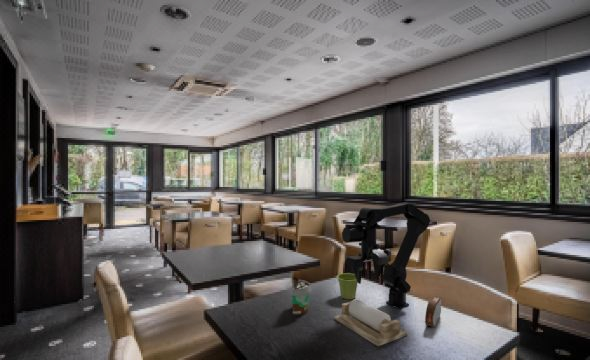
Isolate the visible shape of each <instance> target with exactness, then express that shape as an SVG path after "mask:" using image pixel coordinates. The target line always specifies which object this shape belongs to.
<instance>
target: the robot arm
mask: <svg viewBox="0 0 590 360" xmlns="http://www.w3.org/2000/svg"><path fill="white" fill-rule="evenodd" d="M400 215H403V217H404V218H405V219H406V220H407V221H406V229H407V230H406V233H405V234H404V237H403V240H402V242H401V244H400V246H399V248H398V252H396V256H395V258H394V259H393V260H394V261H393V262H392V263H390V262H391V261H392V250H390V249H389V248H387V249H380V244H379V243H377V230H380V229H381V230H382V226H380V225H379V222H382V221H383V220H384V219H386V218H391V217H394V216H400ZM430 224H431V219H430V216H429V215H428V213H425V212H424V211H422V210H421V209H419V208H417V207H416V206H415V205H414V204H412V202H401V203H397V204H392V205H387V206H382V207H361V208H360V210H359V212H358V214H357V216H356V218H355V220H354V221H353V223H351V224H350V223H345V225H344V226H345V227H344V228H343V229H342V231H341V236H342V237H341V238H342V241H343V242H344V243H346V244H348V243H349V244H350V243H358V246H360V253H358V256H356V255H351V256H349V255H348V256H346V258H345V261H344V262H345V265H347V267H350V269H351V271H352V274H354V275H355V277H356V279H357V282H358V283H357V284H359V285H361V283H362V274H363V273H362V271H363V270H364V268H365V267H364V266H363V265H364V263H368V262H372V265H373V272H374V277H375V280H378V281H379V279H380V277H381V273H382V279H383V281H384V283H385V286H386V287H388V288H389V289H388V292H389V293H388V301H385V303H386V304H388V305H390V306H392V307H393V308H396V309H401V308H405V307H407V306H410V304H409V303H408V302H407V293H408V292H410V290H411V287H412V286H411V285H410V284H409V283H408V282H407V266H408V263H409V261H410V258H411V256H412V254H413V252H414V249H415V246H416V244H417V242H418V239H419V237H420V235H422V234H423V233H424V232H425V231H426V230H427V229H428V227H429V226H430ZM384 266H385V267H384ZM383 268H384V270H383ZM382 270H383V271H382Z"/></svg>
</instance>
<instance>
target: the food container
mask: <svg viewBox="0 0 590 360" xmlns="http://www.w3.org/2000/svg"><path fill="white" fill-rule="evenodd" d="M311 292H312V287H311V283H310V282H309V281H307V280H303V279H297V284H295V287H294V288H293V289H291V296H292V297H291V298H292V299H291V300H292V303H291V304H292V316H294V317H295V316H298V317H299V316H304V315H307V313H309V306H310V305H309V304H310V303H309V302H310V293H311Z"/></svg>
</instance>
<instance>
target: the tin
mask: <svg viewBox="0 0 590 360" xmlns="http://www.w3.org/2000/svg"><path fill="white" fill-rule="evenodd" d="M442 300H443V298H442V296H439V295H437V294H432V296H431V298H429V301H428V302H427V306H426V310H425V317H424V321H425V322H424V324H425V326H429V327H432V328H435V327H436V325H437V323H438V321H439V320H440V318H441V317H440V316H441V313H442V302H443V301H442Z"/></svg>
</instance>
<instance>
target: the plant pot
mask: <svg viewBox="0 0 590 360" xmlns="http://www.w3.org/2000/svg"><path fill="white" fill-rule="evenodd" d="M336 278H337V279H338V286H339V292H340V297H341V298H342V299H343V298H344V300H354V299H355V298H356V295H357V290H358V289H357V287H358V284H359V283H358V282H357V279H356V277H355V275H354V273H350V272H349V273H345V272H344V273H339V274H338V275H336Z"/></svg>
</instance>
